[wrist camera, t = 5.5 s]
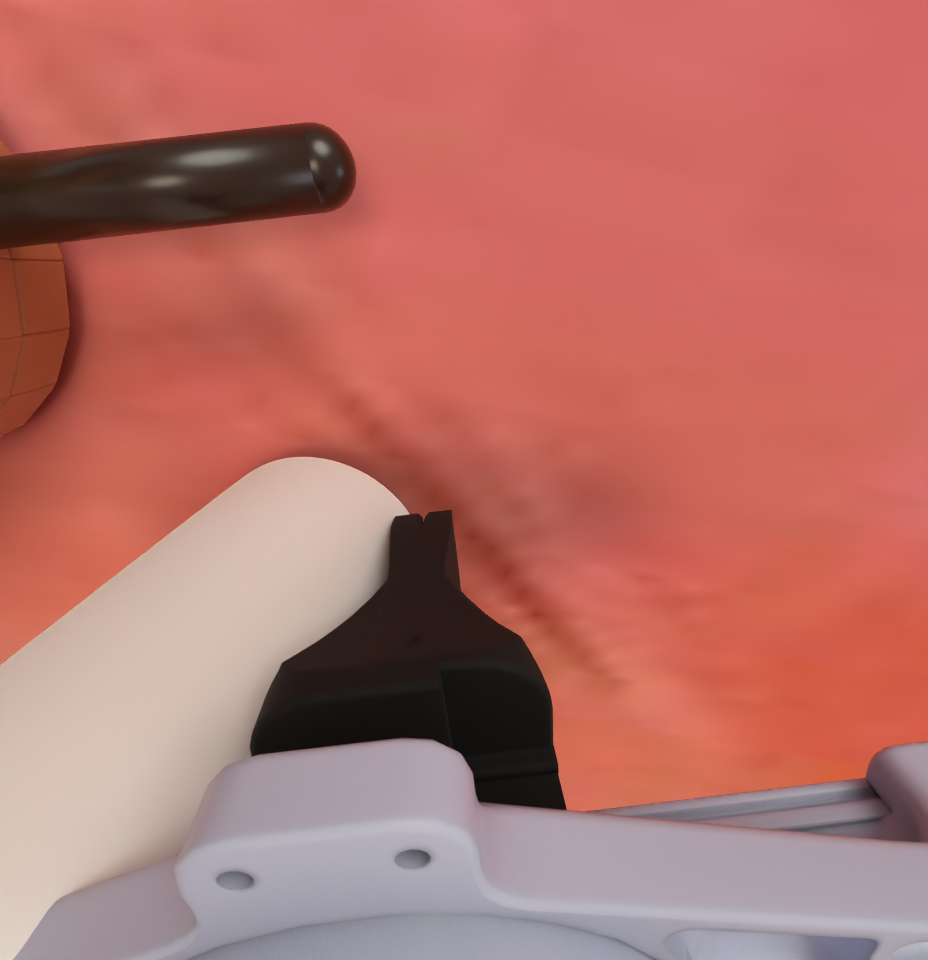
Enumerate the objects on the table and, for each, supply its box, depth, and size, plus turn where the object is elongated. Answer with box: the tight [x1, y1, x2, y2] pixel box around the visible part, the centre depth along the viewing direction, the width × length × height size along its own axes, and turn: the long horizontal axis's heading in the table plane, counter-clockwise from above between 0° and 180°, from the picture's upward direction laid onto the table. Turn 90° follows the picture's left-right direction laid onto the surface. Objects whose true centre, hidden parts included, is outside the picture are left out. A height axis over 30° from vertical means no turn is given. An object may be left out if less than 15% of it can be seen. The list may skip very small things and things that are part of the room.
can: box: [0, 457, 410, 960], centre depth 10 cm, size 6×6×12 cm
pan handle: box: [0, 123, 356, 249], centre depth 9 cm, size 1×8×1 cm, turn 97°
